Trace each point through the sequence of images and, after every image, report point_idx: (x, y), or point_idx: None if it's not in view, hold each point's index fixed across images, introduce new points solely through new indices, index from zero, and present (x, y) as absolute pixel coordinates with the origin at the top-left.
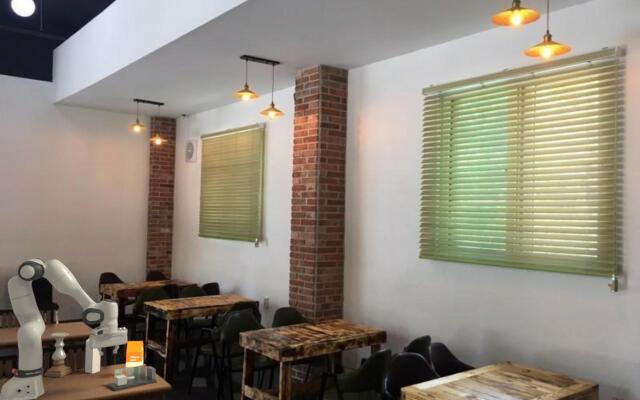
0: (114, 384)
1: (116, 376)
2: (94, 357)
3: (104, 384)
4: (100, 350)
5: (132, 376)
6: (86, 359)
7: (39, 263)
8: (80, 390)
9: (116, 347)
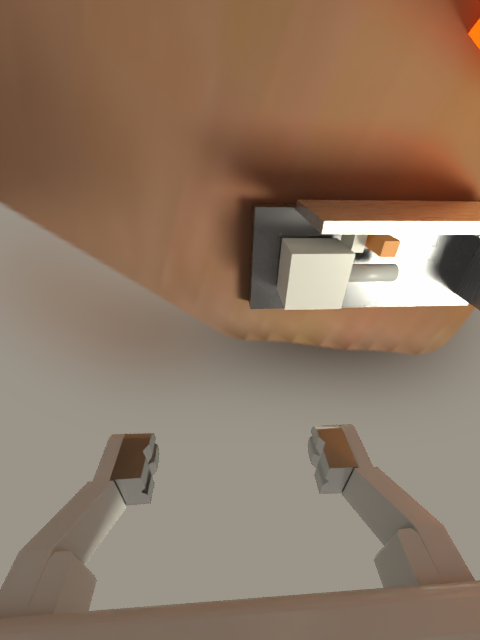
0: (277, 246)
1: (297, 267)
2: None
3: (251, 139)
4: (88, 557)
5: (388, 276)
6: None
7: None
8: (80, 170)
9: (387, 527)
